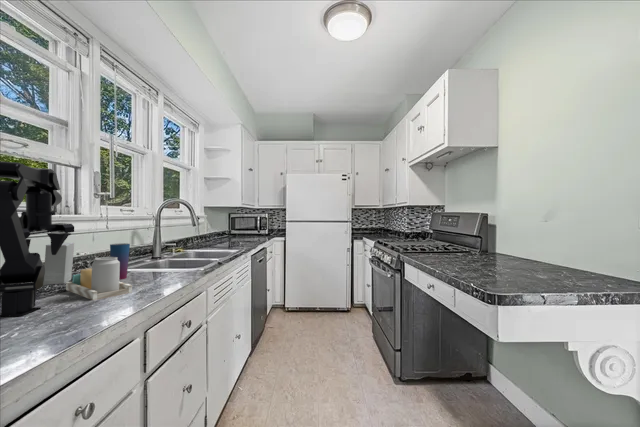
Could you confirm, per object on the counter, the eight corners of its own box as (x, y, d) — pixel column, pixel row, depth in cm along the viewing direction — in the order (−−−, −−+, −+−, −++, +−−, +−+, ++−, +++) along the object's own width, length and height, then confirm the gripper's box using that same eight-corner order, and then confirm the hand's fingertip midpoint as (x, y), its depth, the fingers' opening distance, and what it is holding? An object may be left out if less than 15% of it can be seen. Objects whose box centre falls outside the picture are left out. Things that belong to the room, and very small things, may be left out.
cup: (104, 281, 116) (105, 244, 116) (120, 278, 123) (121, 243, 123) (117, 282, 114) (118, 245, 114) (133, 279, 121) (133, 243, 121)
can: (124, 291, 99) (125, 256, 99) (106, 297, 91) (107, 259, 91) (104, 290, 99) (105, 255, 100) (84, 296, 92) (85, 258, 92)
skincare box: (51, 282, 113) (52, 242, 113) (74, 281, 116) (75, 241, 116) (41, 287, 105) (42, 244, 105) (66, 285, 108) (67, 243, 108)
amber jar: (97, 291, 98) (98, 271, 98) (74, 291, 97) (75, 271, 97) (109, 286, 105) (110, 267, 105) (88, 286, 104) (89, 267, 104)
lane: (131, 294, 97) (132, 285, 97) (93, 302, 88) (93, 292, 88) (102, 285, 109) (103, 277, 109) (65, 292, 99) (66, 282, 99)
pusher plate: (101, 284, 106) (102, 271, 106) (73, 289, 99) (73, 275, 99) (100, 284, 107) (101, 271, 107) (72, 288, 100) (72, 275, 100)
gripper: (45, 205, 99) (45, 250, 100) (-23, 208, 80) (-22, 263, 81) (75, 207, 98) (75, 252, 99) (14, 210, 79) (15, 265, 80)
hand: (39, 257), depth 90 cm, fingers open, 9 cm apart
